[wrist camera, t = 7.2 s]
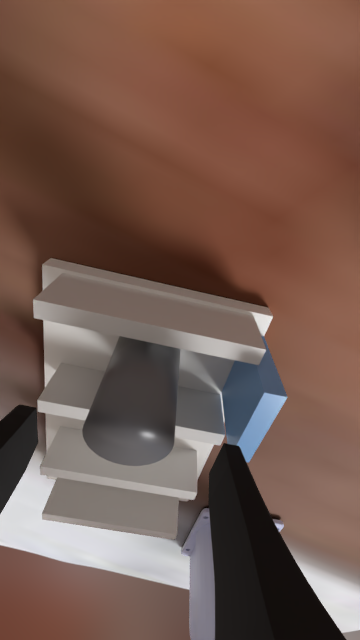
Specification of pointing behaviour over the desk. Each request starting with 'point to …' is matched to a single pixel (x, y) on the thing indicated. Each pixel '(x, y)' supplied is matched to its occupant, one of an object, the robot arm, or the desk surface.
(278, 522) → the robot arm
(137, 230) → the desk surface
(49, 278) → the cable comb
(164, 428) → the plug
